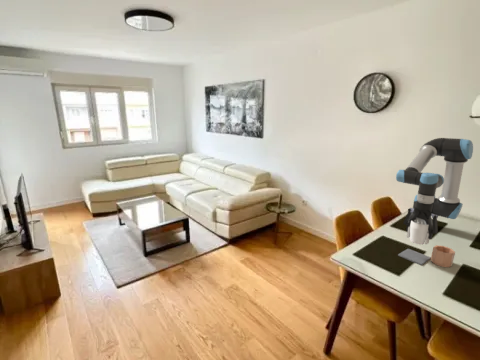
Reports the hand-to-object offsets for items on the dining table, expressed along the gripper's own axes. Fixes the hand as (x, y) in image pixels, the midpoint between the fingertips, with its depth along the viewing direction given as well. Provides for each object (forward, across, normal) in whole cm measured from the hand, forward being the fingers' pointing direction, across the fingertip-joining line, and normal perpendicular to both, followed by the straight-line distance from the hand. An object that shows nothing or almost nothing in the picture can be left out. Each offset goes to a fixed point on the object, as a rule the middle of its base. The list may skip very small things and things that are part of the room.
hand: (417, 240), depth 145 cm
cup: (+1, 0, 0) cm, 1 cm away
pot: (+11, +11, +6) cm, 16 cm away
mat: (+11, 0, 0) cm, 11 cm away
